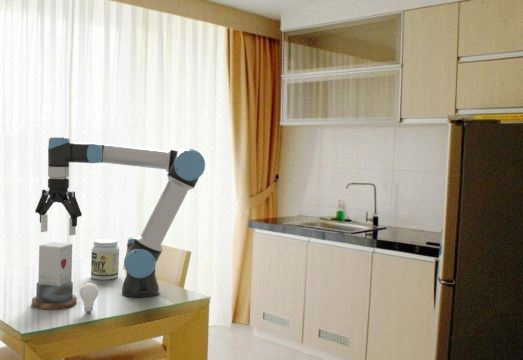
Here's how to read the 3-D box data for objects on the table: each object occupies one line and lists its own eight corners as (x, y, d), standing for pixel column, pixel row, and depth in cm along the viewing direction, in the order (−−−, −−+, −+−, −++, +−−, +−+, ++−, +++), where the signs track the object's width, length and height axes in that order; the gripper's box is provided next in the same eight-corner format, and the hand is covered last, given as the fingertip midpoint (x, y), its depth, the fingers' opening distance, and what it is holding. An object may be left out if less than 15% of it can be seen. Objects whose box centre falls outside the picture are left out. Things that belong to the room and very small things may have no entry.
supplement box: (59, 287, 213) (59, 247, 212) (37, 284, 215) (38, 245, 214) (72, 281, 222) (73, 243, 220) (51, 279, 223) (52, 241, 222)
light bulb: (99, 310, 213) (100, 281, 212) (95, 315, 206) (95, 285, 206) (81, 309, 213) (82, 280, 212) (76, 315, 206) (77, 285, 205)
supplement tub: (85, 278, 258) (86, 241, 257) (101, 273, 270) (101, 237, 269) (108, 281, 255) (109, 244, 253) (123, 276, 266) (124, 240, 265)
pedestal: (85, 301, 223) (85, 281, 222) (55, 312, 208) (55, 290, 208) (53, 295, 229) (54, 276, 229) (22, 305, 214) (22, 284, 214)
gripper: (91, 179, 216) (91, 235, 217) (40, 175, 225) (39, 229, 227) (78, 180, 209) (77, 237, 210) (25, 176, 218) (25, 231, 220)
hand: (58, 233), depth 219 cm, fingers open, 13 cm apart
